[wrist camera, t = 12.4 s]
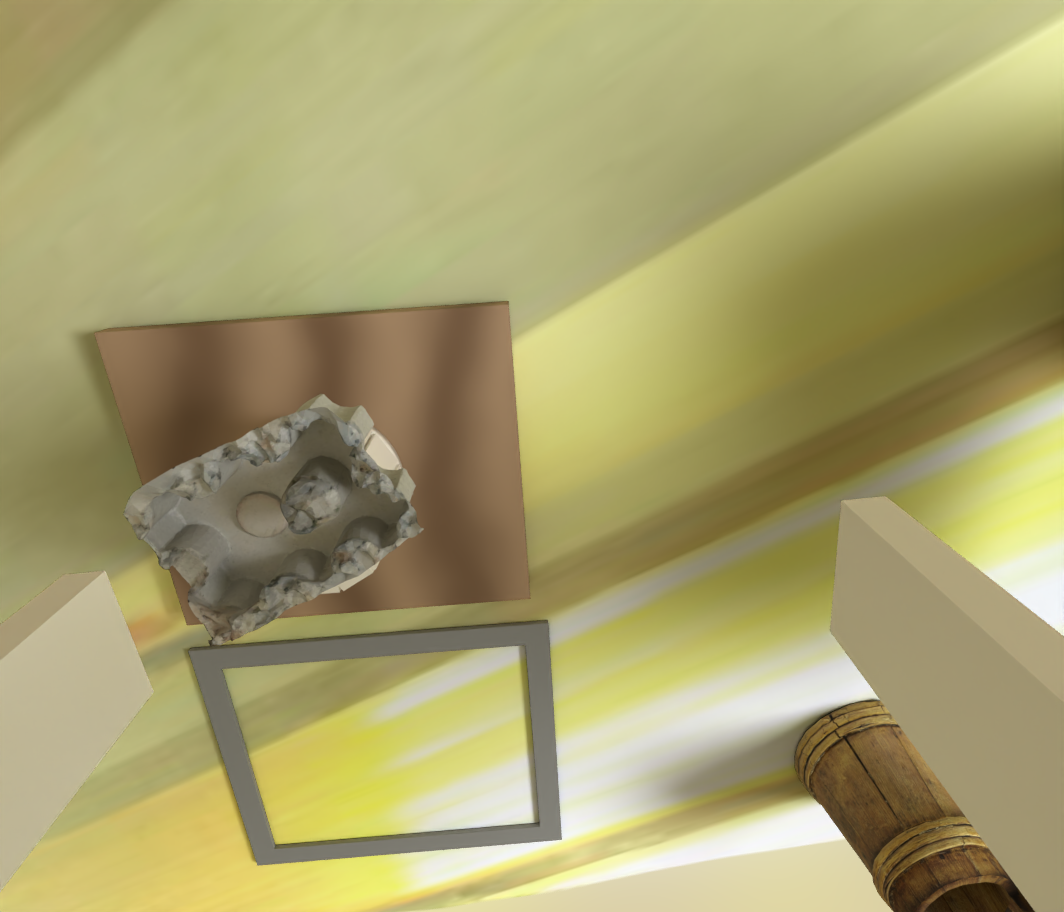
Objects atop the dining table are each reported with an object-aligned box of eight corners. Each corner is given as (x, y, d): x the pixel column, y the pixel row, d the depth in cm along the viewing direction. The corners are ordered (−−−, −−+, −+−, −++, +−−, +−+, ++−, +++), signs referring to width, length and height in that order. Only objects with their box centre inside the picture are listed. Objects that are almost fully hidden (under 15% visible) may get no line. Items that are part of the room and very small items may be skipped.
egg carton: (241, 601, 30) (204, 659, 26) (142, 472, 28) (84, 515, 24) (439, 515, 29) (429, 562, 25) (355, 370, 26) (329, 398, 22)
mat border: (547, 620, 39) (548, 623, 39) (561, 835, 46) (561, 839, 46) (190, 648, 39) (188, 651, 38) (259, 861, 46) (257, 865, 45)
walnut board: (508, 301, 32) (508, 304, 31) (529, 587, 38) (530, 598, 37) (108, 328, 31) (94, 332, 30) (196, 612, 38) (187, 625, 37)
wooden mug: (977, 777, 46) (1251, 1105, 29) (792, 803, 46) (959, 1145, 29) (993, 680, 42) (1312, 988, 26) (794, 709, 43) (982, 1034, 26)
